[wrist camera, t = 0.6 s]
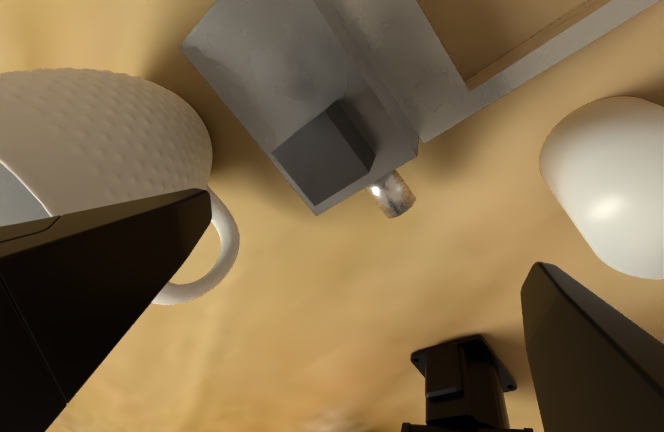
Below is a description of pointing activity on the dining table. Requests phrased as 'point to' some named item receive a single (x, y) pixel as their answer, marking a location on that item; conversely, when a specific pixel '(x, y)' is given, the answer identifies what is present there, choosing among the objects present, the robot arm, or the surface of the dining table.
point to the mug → (103, 152)
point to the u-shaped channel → (361, 84)
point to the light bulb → (612, 180)
